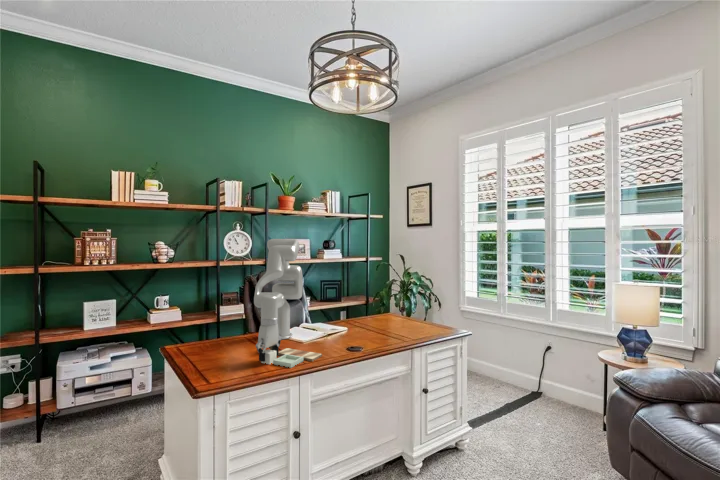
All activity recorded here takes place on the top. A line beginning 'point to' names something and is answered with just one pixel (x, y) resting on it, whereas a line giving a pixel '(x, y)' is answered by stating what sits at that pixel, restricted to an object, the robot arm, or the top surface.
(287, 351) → the track
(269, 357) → the block
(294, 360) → the tray
